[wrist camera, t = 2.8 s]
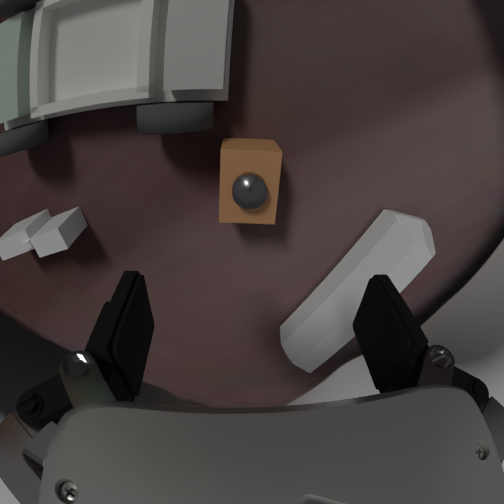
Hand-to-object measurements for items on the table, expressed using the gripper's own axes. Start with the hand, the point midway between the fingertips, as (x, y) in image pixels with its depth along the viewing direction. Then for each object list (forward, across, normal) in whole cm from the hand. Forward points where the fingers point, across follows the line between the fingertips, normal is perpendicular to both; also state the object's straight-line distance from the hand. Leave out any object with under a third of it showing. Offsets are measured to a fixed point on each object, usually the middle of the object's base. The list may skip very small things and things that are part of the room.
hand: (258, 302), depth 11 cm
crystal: (+18, -13, +13) cm, 26 cm away
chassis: (+17, +14, -13) cm, 26 cm away
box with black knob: (+17, 0, 0) cm, 17 cm away
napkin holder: (+18, +22, +6) cm, 29 cm away
